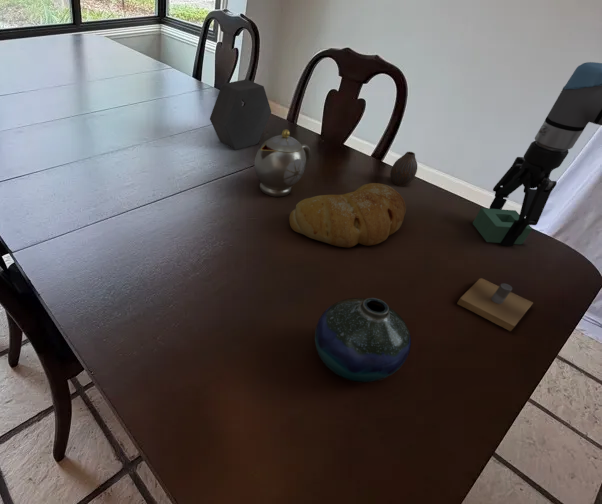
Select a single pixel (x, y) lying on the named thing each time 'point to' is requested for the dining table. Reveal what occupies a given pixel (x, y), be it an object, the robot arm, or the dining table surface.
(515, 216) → the green block with hole
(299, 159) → the teapot
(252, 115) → the planter
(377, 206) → the bread
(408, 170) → the vase
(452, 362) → the dining table surface
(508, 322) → the wooden peg base
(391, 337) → the vase
